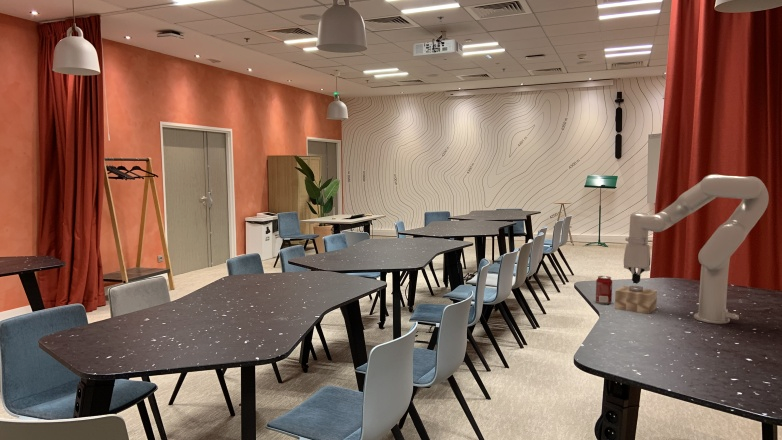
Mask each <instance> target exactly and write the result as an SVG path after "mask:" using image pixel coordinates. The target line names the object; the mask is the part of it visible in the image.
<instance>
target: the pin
mask: <svg viewBox="0 0 782 440" xmlns="http://www.w3.org/2000/svg"><path fill="white" fill-rule="evenodd" d="M628 287H629V290H630V291H633V292H643V289H644V287H643V286H640V285H630V286H628Z"/></svg>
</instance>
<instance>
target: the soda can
mask: <svg viewBox="0 0 782 440" xmlns="http://www.w3.org/2000/svg"><path fill="white" fill-rule="evenodd" d="M595 286H596V287H595V302H596V303H597V304H600V305H609V304H611V303H612V300H613V299H612V297H613V280H612V277H611V276H607V275H599V276H597V279H596V282H595Z"/></svg>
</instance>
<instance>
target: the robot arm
mask: <svg viewBox="0 0 782 440" xmlns="http://www.w3.org/2000/svg"><path fill="white" fill-rule="evenodd" d="M716 198H726V199H738V200H741V202H740V203H739V205H738V206H737V207H736V208H735V210H734V211H733V213H731V215H730V216H729V218H728V219H727V220H726V221H725V222H723V223H721V224H720V225H719V226H718V227H717V229H716V230H715V231H714V232H713V233H712V235H711V236H710V238H709V239H708V240H707V241H706V242H705V244H704V245H703V246H702V248H700V250H699V252H698V258H697V259H698V262H699V264H700V265H701V267H700V277H699V278H700V279H699V292H698V293H699V296H698V298H699V299H698V312H696V313H694V314H693V318H694V319H695V320H697V321H699V322H703V323H709V324H720V325H721V324H728V323H730V322H731V321H730V320H737V321H738V320H739V314H737V313H731V312H730V311H728V310H729V309H728V308H727V297H728V296H727V294H728V281H729V272H730V271H729V269H730V260H731V256H732V255H733V254H734V253H735V252H736V251H737V250H738V248H739V247H740V246H741V244H743V242H744V241H745V239H746V238H747V236H748V235H749V233H750V232H751V230H752V229H753V228H754V227H755V226H756V224H757V223H758V221H759V220H761V217H762V216H763V215H764V214H765V211H766V209H767V208H768V205H769V201H770V200H769V192H768V188H767V187H766V185H765V183H763V181H762V180H761V179H760V178H758V177H757V176H739V175H723V174H718V173H714V174H708V175H706V176H704V177H703V178H702V180H700V182H698V183H697V184H695V185H694V186H692V187H691V188H689V189H688V190H686V191H684V192H683V193H681V194H680V195H679V196H678V198H677V199H676V200H675V201H674V202H672V203H671V204H670V205H667V206H666V207H665V208H664V209H663V210H661V211H659V212H658V213H655V214H654V213H653V214H647V213H644V212H633V213H631V214H630V215H629V216H630V217H629V228H628V229H629V233H628V235H629V236H627V237H625V241H626V242H628V243H626V245H625V249H624V254H623V269H627V270H628V271H630V273H631V281H632V283H633V284H635V285H637V284H639V283H640V282H641V276H642V273H644V272H649V271H651V267H650V266H651V249H650V245H649V243H648V242H649V232H655V233H660V232H663V231H665V230H668V229H669V228H670V227H672V226H674V225H675V224H676V223H678V222H680V221H681V220H683V219H684V218H686V217H687V216H689V215H692V214H693V213H695V212H696V211H697V210H699V209H701V208H702V207H703V206H705V205H707V204H708V203H710V202H711V201H713V200H715V199H716Z"/></svg>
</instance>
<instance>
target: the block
mask: <svg viewBox="0 0 782 440" xmlns="http://www.w3.org/2000/svg"><path fill="white" fill-rule="evenodd" d="M657 300H658V290H657V289H652V288H651V289H649V288H643V292H633V291H630V290H629V286H627V285H623V286H621V287H619V288H617V289H615V291H614V310H615V309H616V310H622V311H623V310H624V311H629V312H632V313H633V312H634V313H640V314H646V315H649V314H651V313H652V312H654V311H655V310H656V309H657V302H658V301H657Z"/></svg>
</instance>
